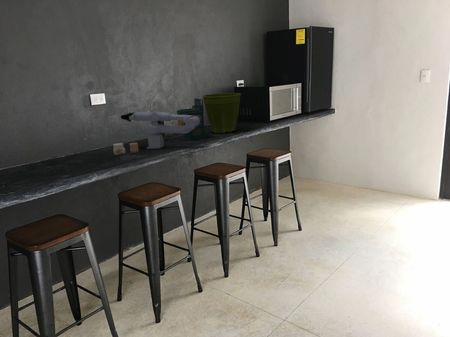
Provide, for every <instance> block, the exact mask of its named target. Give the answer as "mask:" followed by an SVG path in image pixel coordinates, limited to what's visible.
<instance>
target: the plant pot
mask: <svg viewBox="0 0 450 337" xmlns="http://www.w3.org/2000/svg"><path fill="white" fill-rule="evenodd" d="M241 96H242V93H239V92H229V93H228V92H225V93H224V92H221V93H212V94H204V95H202V100H203V105H204V108H205V112H206V116H207V119H208V120H207V121H208V123H209V126H210V129H211V132H212V133H213V132H214V134H226V133H225V132H229V133H233V132H232V131H234V132H236V130H237V123H238V117H239V113H240V112H239V111H240V102H241Z"/></svg>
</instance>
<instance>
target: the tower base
mask: <svg viewBox="0 0 450 337" xmlns="http://www.w3.org/2000/svg"><path fill="white" fill-rule="evenodd" d="M112 151H113V154H114V155H122V154H126V148H124V149H120V150H114V148H113V150H112Z"/></svg>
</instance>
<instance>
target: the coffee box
mask: <svg viewBox="0 0 450 337" xmlns="http://www.w3.org/2000/svg"><path fill="white" fill-rule="evenodd" d="M153 123H157V124H159V125H165V121H159V120H158V121H156V122H155V121H151V124H153ZM151 124H150V125H151ZM159 134H162V136H163V142H164V141H166V133H159Z"/></svg>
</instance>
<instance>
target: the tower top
mask: <svg viewBox="0 0 450 337" xmlns="http://www.w3.org/2000/svg"><path fill="white" fill-rule="evenodd" d="M112 145H113V149H114V150H120V149H125V147H124V143H123V142H120V143H119V142H118V143H113V144H112Z"/></svg>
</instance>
